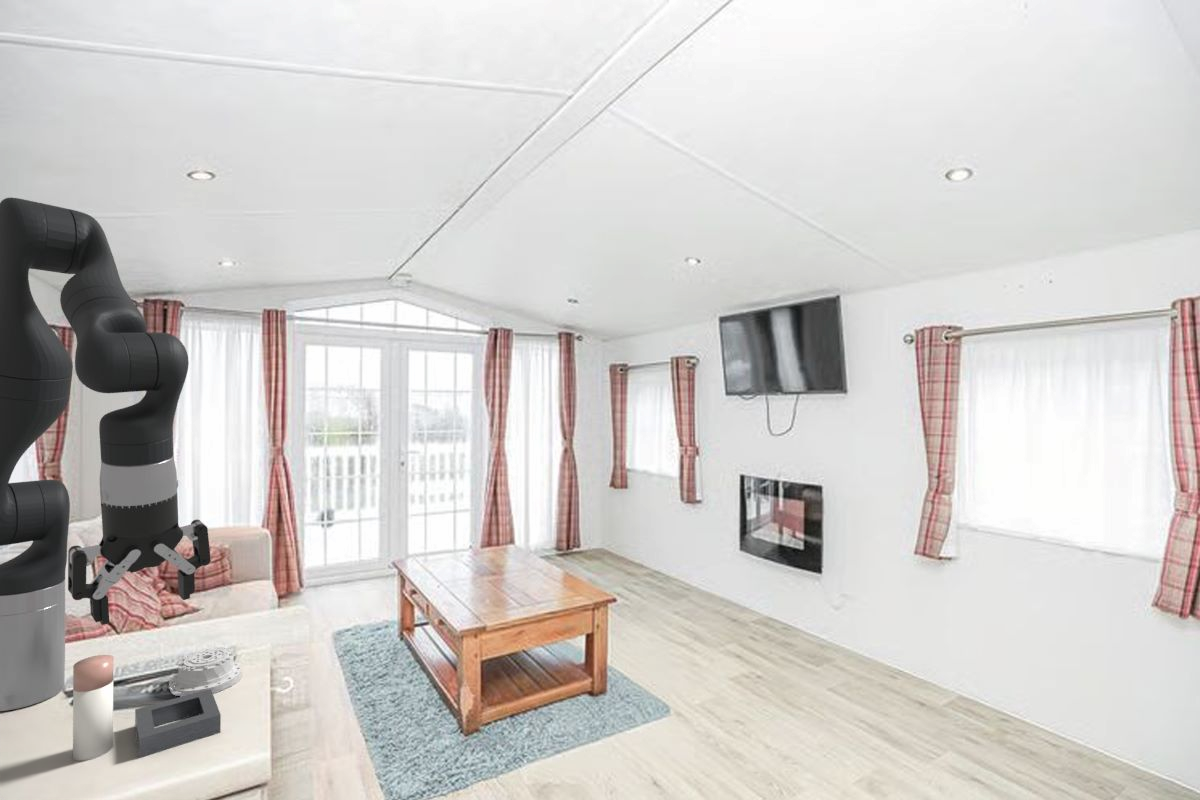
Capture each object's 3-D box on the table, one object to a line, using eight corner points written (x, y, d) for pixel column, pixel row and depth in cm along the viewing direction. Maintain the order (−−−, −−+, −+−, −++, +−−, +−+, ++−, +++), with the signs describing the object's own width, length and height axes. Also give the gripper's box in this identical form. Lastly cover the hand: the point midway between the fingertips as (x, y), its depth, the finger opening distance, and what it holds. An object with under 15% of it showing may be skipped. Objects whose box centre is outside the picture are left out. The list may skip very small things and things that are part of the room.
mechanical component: (152, 695, 91) (205, 703, 89) (152, 667, 91) (205, 675, 89) (207, 665, 101) (256, 672, 99) (207, 640, 101) (256, 647, 99)
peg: (73, 749, 77) (73, 660, 77) (112, 738, 80) (113, 651, 80) (72, 764, 74) (73, 672, 74) (113, 752, 77) (113, 662, 77)
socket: (135, 726, 83) (135, 709, 83) (210, 704, 89) (210, 688, 89) (138, 757, 76) (139, 738, 76) (220, 732, 82) (220, 714, 82)
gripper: (195, 472, 80) (198, 579, 83) (56, 494, 69) (65, 617, 72) (216, 489, 76) (218, 601, 79) (71, 515, 65) (80, 645, 68)
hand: (145, 609), depth 76 cm, fingers open, 8 cm apart
